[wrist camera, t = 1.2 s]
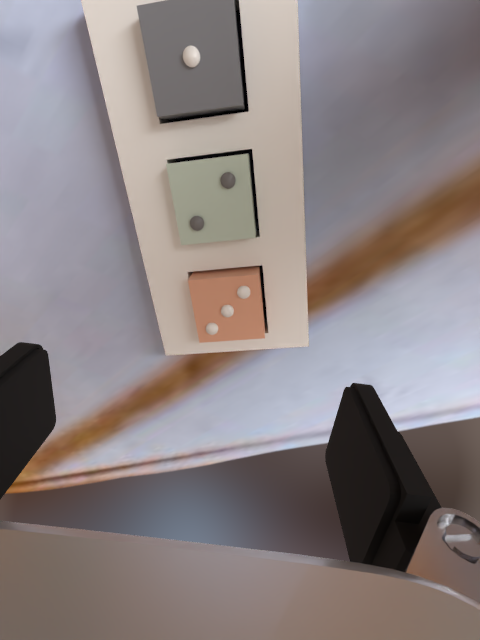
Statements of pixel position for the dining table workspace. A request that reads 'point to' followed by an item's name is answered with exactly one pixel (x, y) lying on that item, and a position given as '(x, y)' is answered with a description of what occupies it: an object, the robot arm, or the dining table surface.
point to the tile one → (192, 57)
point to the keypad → (207, 139)
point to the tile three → (228, 304)
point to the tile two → (213, 199)
